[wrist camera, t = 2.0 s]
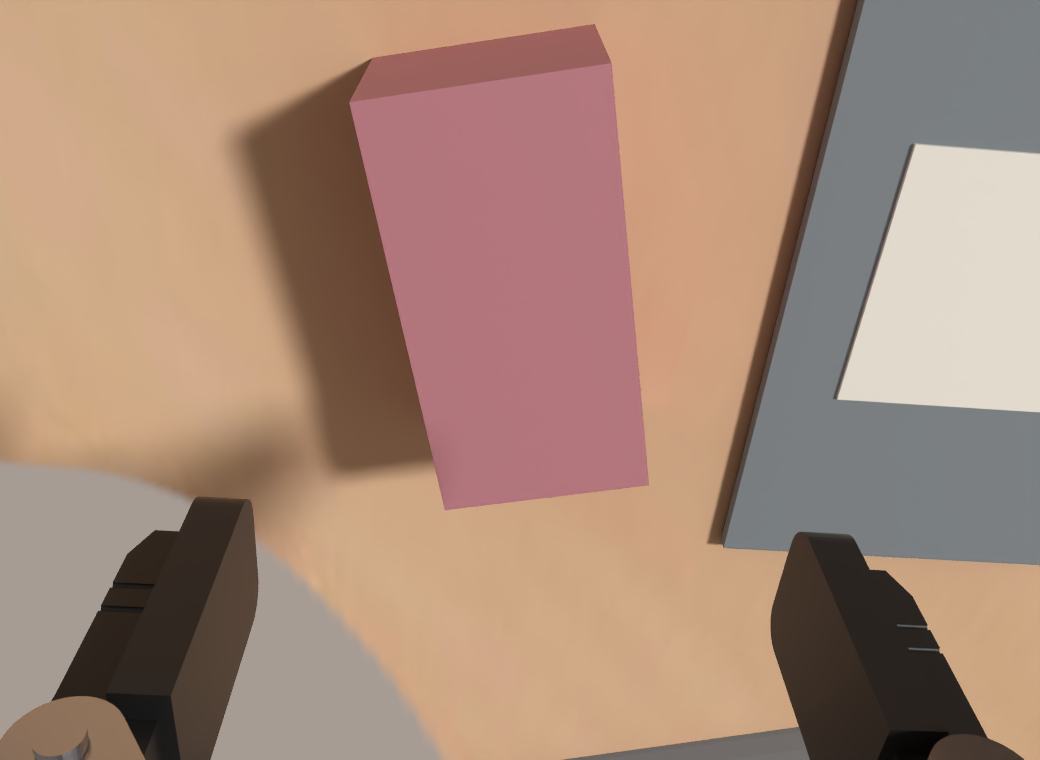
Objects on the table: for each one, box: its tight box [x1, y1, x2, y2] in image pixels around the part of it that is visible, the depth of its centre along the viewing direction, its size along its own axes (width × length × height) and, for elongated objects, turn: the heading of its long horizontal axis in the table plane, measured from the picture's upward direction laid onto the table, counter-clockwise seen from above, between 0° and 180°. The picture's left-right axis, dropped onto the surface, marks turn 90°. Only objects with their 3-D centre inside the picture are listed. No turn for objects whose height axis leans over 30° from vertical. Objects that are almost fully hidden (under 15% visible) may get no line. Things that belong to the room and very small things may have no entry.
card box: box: [349, 24, 649, 510], centre depth 22 cm, size 10×5×4 cm, turn 8°
